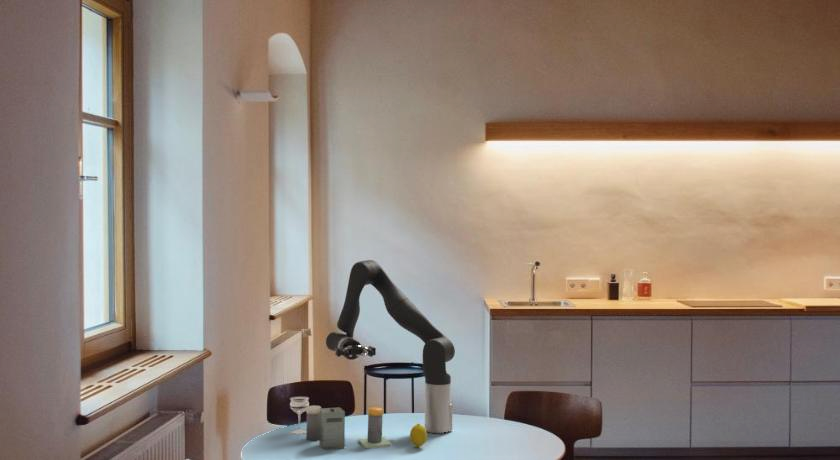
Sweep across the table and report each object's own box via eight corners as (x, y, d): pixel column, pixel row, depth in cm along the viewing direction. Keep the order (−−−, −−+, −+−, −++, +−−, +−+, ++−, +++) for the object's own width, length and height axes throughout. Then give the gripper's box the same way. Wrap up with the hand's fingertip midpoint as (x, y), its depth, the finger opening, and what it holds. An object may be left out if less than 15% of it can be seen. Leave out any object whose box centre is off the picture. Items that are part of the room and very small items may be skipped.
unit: (339, 442, 265) (339, 405, 265) (344, 448, 257) (345, 410, 257) (319, 444, 262) (319, 406, 262) (323, 450, 255) (324, 411, 255)
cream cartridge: (319, 436, 272) (319, 405, 272) (322, 440, 267) (322, 408, 267) (304, 437, 270) (305, 405, 271) (307, 441, 266) (307, 409, 266)
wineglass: (312, 431, 279) (313, 398, 279) (297, 435, 274) (298, 401, 274) (300, 428, 283) (300, 395, 283) (285, 432, 278) (285, 398, 278)
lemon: (424, 450, 256) (425, 426, 256) (408, 449, 257) (408, 425, 257) (428, 446, 261) (428, 422, 261) (411, 445, 262) (412, 421, 262)
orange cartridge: (380, 438, 267) (381, 406, 267) (383, 442, 262) (384, 410, 262) (365, 439, 265) (366, 407, 265) (369, 443, 260) (370, 410, 261)
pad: (383, 439, 269) (383, 437, 269) (391, 446, 261) (391, 443, 261) (358, 441, 266) (358, 439, 266) (365, 448, 258) (365, 445, 258)
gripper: (330, 338, 291) (340, 344, 275) (367, 337, 295) (379, 343, 280) (330, 358, 291) (340, 365, 275) (367, 357, 295) (379, 364, 280)
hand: (360, 354), depth 278 cm, fingers open, 8 cm apart
